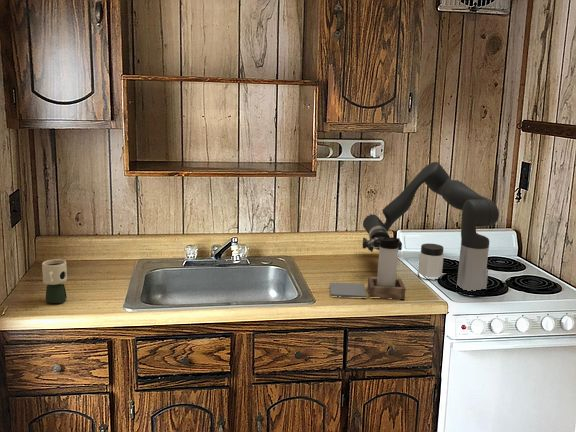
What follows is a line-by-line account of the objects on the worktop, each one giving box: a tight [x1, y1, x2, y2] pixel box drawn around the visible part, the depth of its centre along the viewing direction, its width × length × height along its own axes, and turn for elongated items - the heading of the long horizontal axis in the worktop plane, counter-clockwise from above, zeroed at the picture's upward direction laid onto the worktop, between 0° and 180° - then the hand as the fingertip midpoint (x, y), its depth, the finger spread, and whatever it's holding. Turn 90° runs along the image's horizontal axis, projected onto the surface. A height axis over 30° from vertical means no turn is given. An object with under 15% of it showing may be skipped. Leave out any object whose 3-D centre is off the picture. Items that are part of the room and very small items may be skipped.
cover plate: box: [329, 282, 368, 298], centre depth 207 cm, size 12×12×1 cm
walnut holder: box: [367, 276, 406, 300], centre depth 206 cm, size 12×10×4 cm
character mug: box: [41, 258, 68, 304], centre depth 188 cm, size 11×7×13 cm, turn 6°
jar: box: [417, 243, 445, 277], centre depth 225 cm, size 9×8×12 cm
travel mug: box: [376, 237, 401, 287], centre depth 205 cm, size 6×7×20 cm
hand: (383, 249), depth 215 cm, fingers open, 8 cm apart
